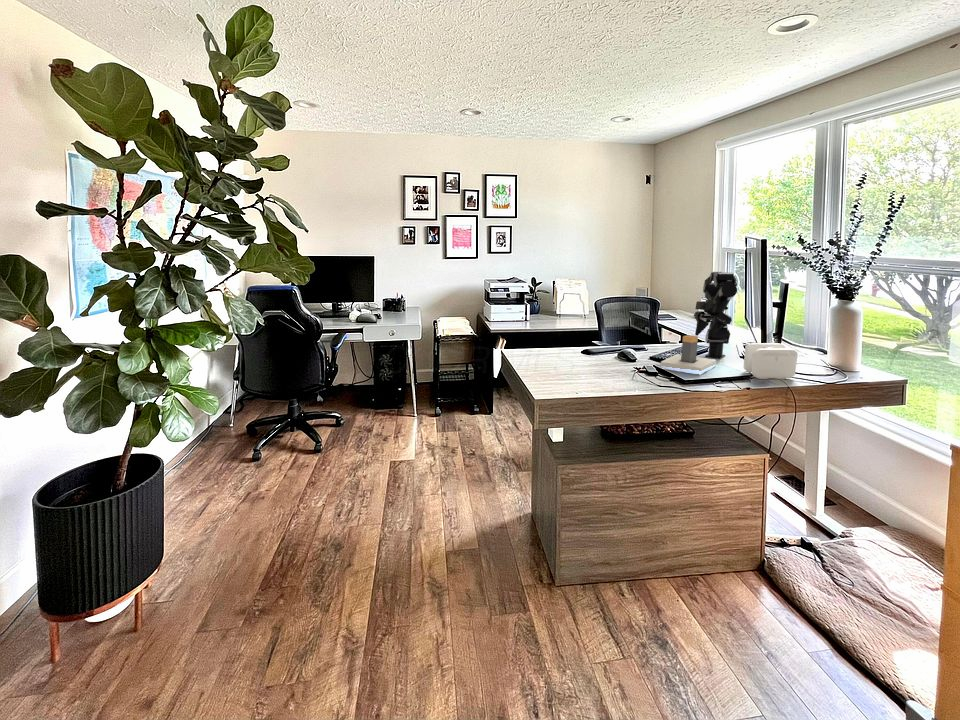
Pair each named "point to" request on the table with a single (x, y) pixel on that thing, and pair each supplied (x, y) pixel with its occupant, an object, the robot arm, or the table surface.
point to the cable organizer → (770, 360)
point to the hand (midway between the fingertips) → (702, 335)
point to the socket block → (698, 365)
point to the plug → (689, 349)
